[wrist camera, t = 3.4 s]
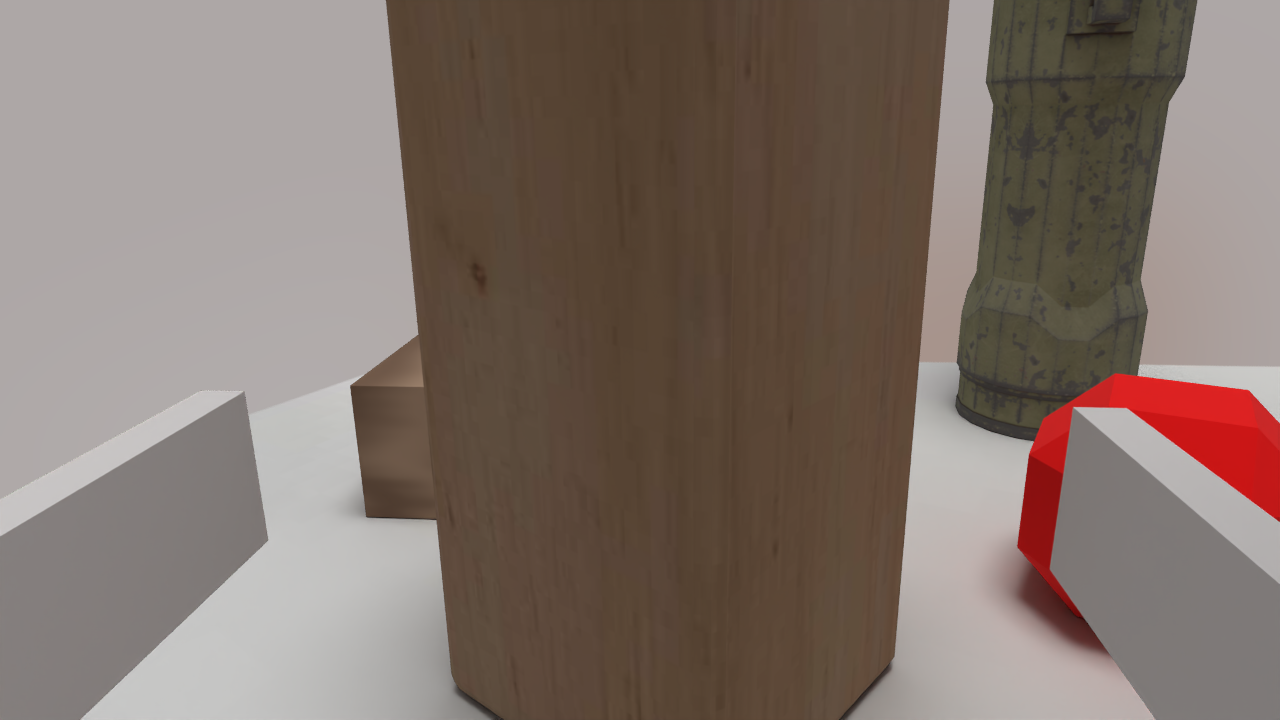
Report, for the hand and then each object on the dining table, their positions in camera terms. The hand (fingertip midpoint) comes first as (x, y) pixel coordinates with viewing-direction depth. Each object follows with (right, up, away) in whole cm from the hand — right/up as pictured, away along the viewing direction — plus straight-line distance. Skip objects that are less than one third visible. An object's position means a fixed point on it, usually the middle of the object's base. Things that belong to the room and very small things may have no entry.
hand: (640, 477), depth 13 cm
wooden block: (+1, -8, +13) cm, 15 cm away
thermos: (+22, -1, +34) cm, 40 cm away
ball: (+17, -7, +16) cm, 25 cm away
